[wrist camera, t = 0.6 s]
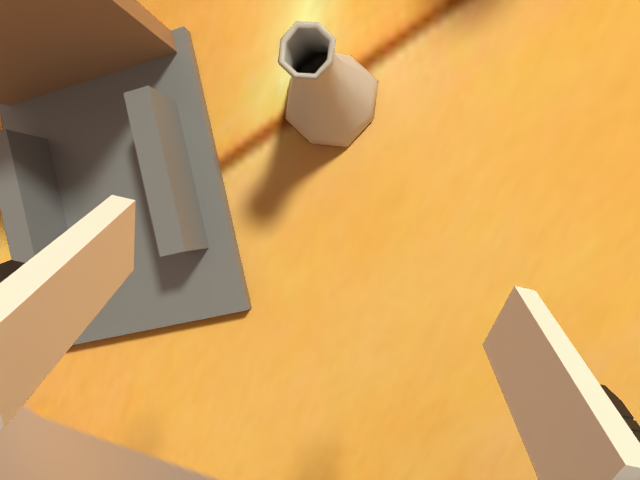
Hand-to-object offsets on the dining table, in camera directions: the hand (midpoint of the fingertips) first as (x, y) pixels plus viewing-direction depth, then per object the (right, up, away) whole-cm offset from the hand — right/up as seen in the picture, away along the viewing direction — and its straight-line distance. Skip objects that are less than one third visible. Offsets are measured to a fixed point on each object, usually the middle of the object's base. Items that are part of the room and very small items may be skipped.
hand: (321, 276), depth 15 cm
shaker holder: (-17, +5, +22) cm, 28 cm away
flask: (+1, +12, +19) cm, 22 cm away
